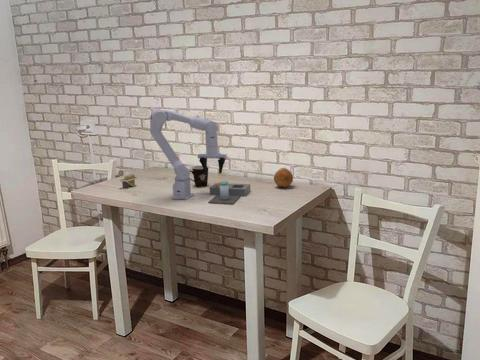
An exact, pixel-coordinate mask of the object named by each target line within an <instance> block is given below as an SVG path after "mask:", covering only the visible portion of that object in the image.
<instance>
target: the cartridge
mask: <svg viewBox="0 0 480 360" xmlns="http://www.w3.org/2000/svg"><path fill="white" fill-rule="evenodd" d="M219 183H220V199H221V200H228V199H229V188H228V184H229V181H220V182H219Z"/></svg>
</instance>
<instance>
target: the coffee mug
mask: <svg viewBox="0 0 480 360" xmlns="http://www.w3.org/2000/svg"><path fill="white" fill-rule="evenodd" d="M189 171H190V173H191V174H192V176H193V179H192V178H190V181H191V182H194V186H195V188H205V187H208V181H209V180H208V179H209V166H208V165H207V173H204V169H203V166H202V165H196V166H192V167H191V170H189Z"/></svg>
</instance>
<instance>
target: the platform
mask: <svg viewBox="0 0 480 360" xmlns="http://www.w3.org/2000/svg"><path fill="white" fill-rule="evenodd" d="M135 180H138V177H137V176H135V174H130V175H126V176H124V177H123V179H119V182H120V183H121V182H122V189H126V187H127V188H129V187H130V186H131V187H135V186H136V184H135ZM131 187H130V188H131Z"/></svg>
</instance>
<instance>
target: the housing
mask: <svg viewBox="0 0 480 360" xmlns="http://www.w3.org/2000/svg"><path fill="white" fill-rule="evenodd" d="M217 183H218V182H215V183H213V184H212V185H211V186H209V195H214V196H216V195H220V187H217ZM228 188H229V196H240V197H246V196H247V195H248V194H249V193H250V192H251V184H250V183H228Z"/></svg>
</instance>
